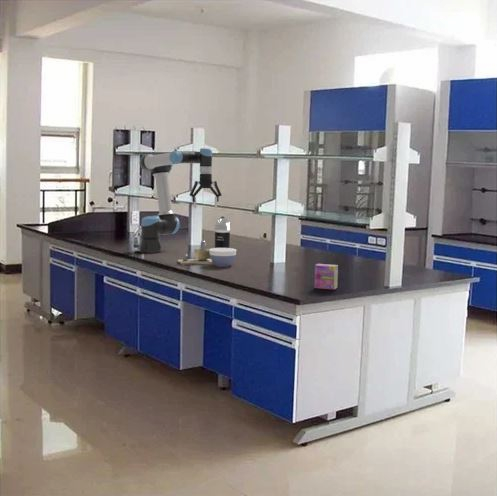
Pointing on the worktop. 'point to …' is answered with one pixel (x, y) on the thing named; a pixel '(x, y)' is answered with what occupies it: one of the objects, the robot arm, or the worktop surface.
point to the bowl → (222, 256)
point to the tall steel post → (203, 246)
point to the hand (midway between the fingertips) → (205, 207)
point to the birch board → (195, 262)
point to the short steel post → (185, 257)
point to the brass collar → (202, 254)
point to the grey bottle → (222, 233)
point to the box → (326, 276)
